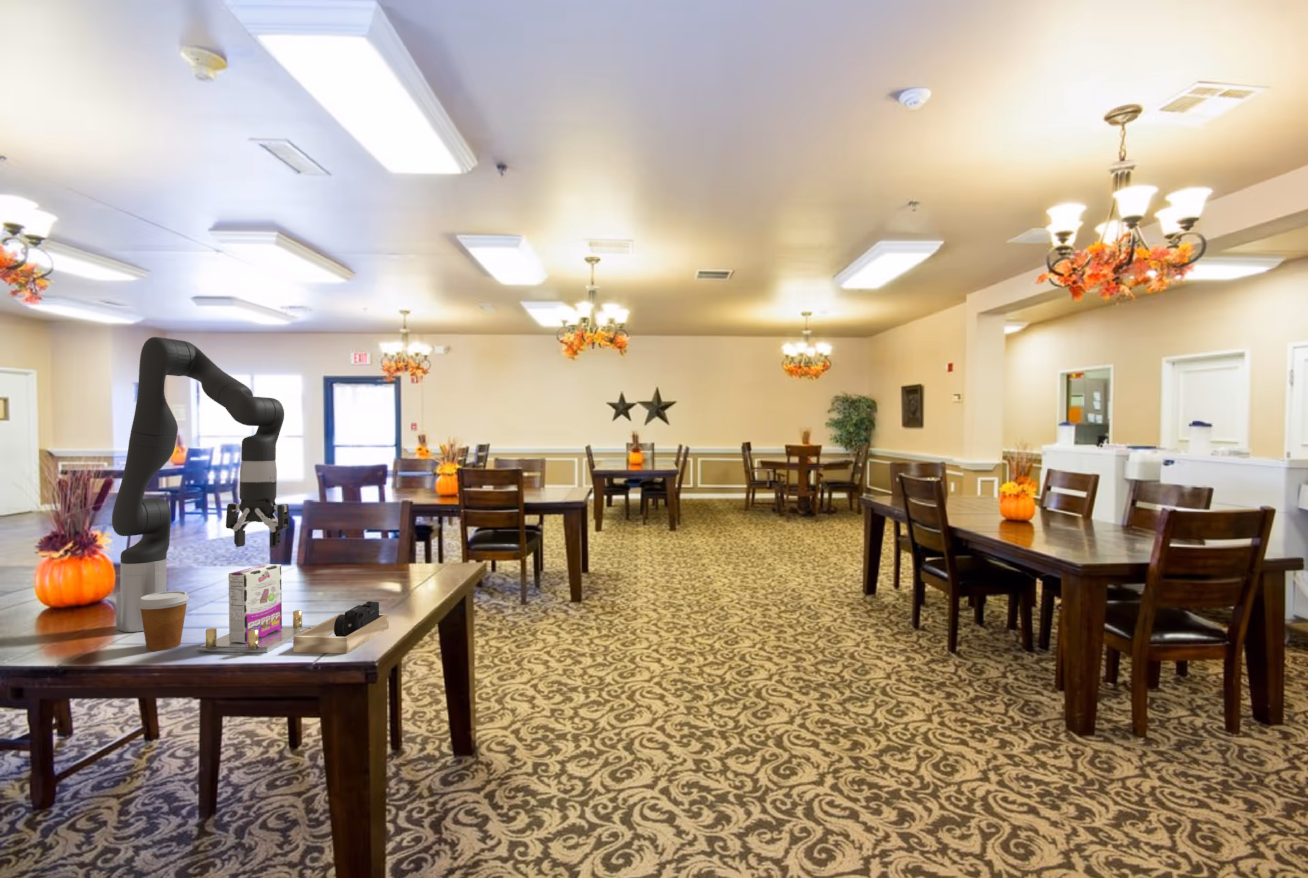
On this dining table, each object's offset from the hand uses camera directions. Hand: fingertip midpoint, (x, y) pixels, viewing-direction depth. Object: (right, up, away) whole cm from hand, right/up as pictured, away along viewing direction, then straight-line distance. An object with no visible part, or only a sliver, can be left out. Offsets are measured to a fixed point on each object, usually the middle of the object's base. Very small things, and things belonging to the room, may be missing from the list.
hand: (257, 546), depth 150 cm
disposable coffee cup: (-19, -23, -4) cm, 30 cm away
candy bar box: (0, -22, 0) cm, 22 cm away
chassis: (0, -23, 0) cm, 23 cm away
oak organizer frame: (+20, -23, +2) cm, 30 cm away
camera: (+22, -23, +4) cm, 32 cm away
